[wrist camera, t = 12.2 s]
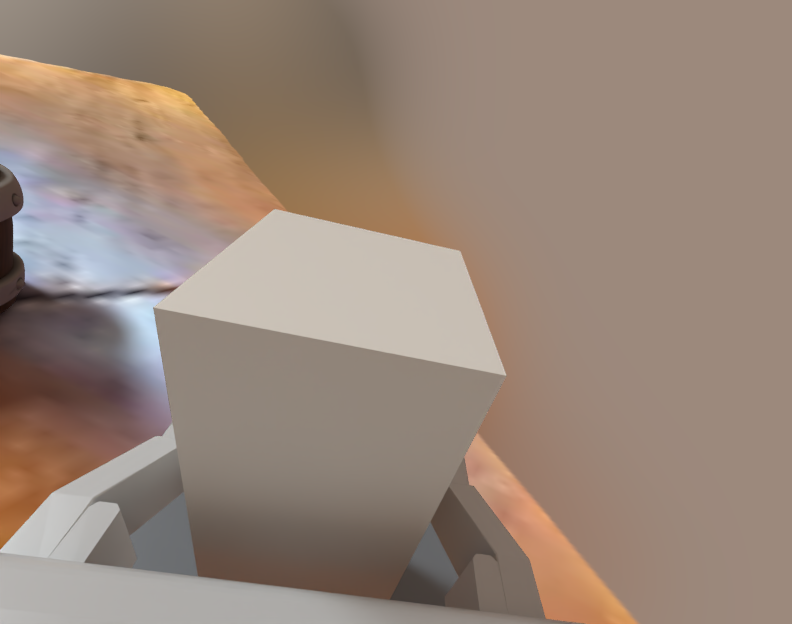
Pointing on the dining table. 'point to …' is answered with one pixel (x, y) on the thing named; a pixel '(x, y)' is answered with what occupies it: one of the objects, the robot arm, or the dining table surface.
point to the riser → (173, 553)
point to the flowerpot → (9, 240)
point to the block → (322, 400)
